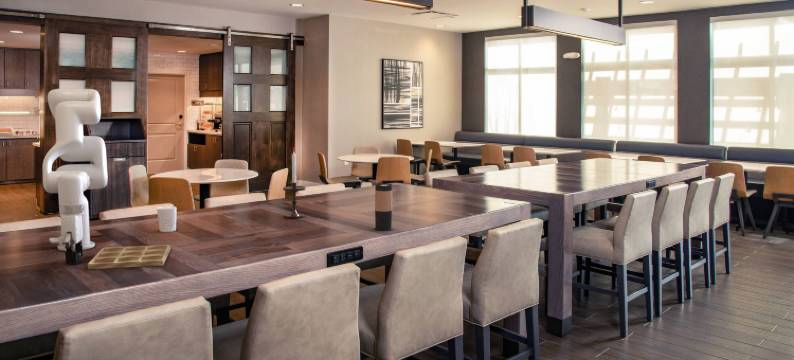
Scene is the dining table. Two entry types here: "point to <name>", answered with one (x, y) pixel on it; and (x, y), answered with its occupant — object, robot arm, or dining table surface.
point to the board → (130, 257)
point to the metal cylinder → (77, 258)
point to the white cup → (167, 218)
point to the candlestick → (294, 189)
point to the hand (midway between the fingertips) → (74, 259)
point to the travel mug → (383, 207)
